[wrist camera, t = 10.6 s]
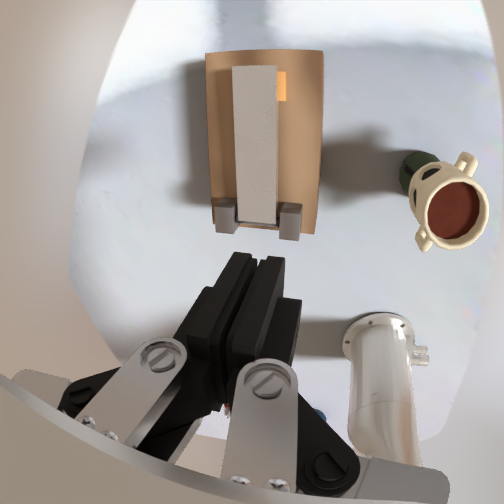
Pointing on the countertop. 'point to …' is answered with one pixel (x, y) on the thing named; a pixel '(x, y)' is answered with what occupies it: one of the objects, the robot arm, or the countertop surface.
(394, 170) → the countertop surface
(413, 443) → the robot arm
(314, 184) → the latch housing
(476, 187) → the character mug
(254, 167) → the latch lever
